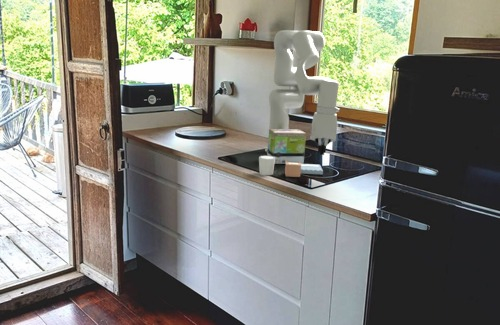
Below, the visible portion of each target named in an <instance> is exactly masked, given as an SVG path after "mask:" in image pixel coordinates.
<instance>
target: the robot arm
mask: <svg viewBox="0 0 500 325" xmlns="http://www.w3.org/2000/svg"><path fill="white" fill-rule="evenodd" d="M325 44H326V39H325V36H324V35H323V33H322V32H320V31H316V30H315V31H314V30H313V31H312V30H292V29H291V30H289V29H288V30H287V29H286V30H285V29H284V30H278V32H276V34H275V36H274V38H273V49H274V55H275V59H274V60H275V62H274V70H273V71H274V73H273V82H274V84H275V85H276V86H279V87H293V88H275V89H273V90H272V91H270V92H269V96H268V100H269V101H268V102H269V129H289V128H290V127H289V125H290V124H289V123H290V117H289V114H288V112H287V111H286V110H288V109H301V107H302V106H303V105H304V102H305V95H306V96H317V103H316V104H317V105H316V112H314V113H313V117H312V120H311V128H310V136H309V140H311V141H314V142H316V143H317V144H318V145H317V146H318V147H317V153H318V154H319V155H320V156H324V155H325V153H326V150H327V146H328V145H329V144H330V143H333V142H337V134H338V130H337V129H338V116H337V113H339V112H340V108H338V107H337V102H338V101H337V100H338V95H339V94H338V93H339V82H338V80H336V79H331V78H330V77H328V76H312V75H311V76H308V75H307V72H306V70H308V69H310V68H312V67H314V66H315V65H317V63H319V60H320V56H319V53H318V52H321V51H322V50H323V49H324V47H325ZM291 50H293V51H295V54H296V57H297V59H298V64H297V66H294V65H293V64H294V56H293V54H292V53H293V52H291ZM269 129H268V130H269ZM322 139H323V142H322ZM267 150H268V147H265V149H264V152H265V153H267Z"/></svg>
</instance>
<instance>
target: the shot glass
mask: <svg viewBox="0 0 500 325" xmlns="http://www.w3.org/2000/svg"><path fill="white" fill-rule="evenodd" d="M258 163H259V164H258V169H259V174H260V175H262V176H272V175H274V169H275V165H276V164H275V157H273V156H267V155H260V156H259V157H258Z"/></svg>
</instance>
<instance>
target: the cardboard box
mask: <svg viewBox="0 0 500 325" xmlns="http://www.w3.org/2000/svg"><path fill="white" fill-rule="evenodd" d="M284 171H285V172H284V174H285V177H293V178H300V177H301V164H300V162H290V161H287V162H286V164H285V168H284Z"/></svg>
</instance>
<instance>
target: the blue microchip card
mask: <svg viewBox="0 0 500 325" xmlns="http://www.w3.org/2000/svg"><path fill="white" fill-rule="evenodd" d="M323 173H324V170H323V168H322V166H321V164H313V163H303V164H301V173H300V175H301V174H307V175H324V174H323Z"/></svg>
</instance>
